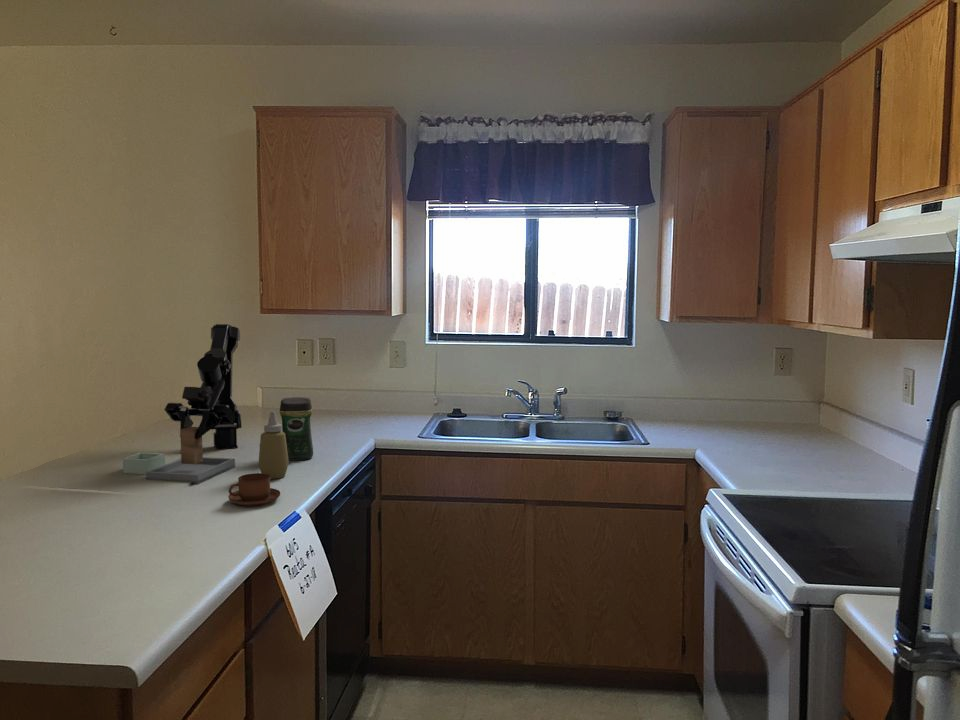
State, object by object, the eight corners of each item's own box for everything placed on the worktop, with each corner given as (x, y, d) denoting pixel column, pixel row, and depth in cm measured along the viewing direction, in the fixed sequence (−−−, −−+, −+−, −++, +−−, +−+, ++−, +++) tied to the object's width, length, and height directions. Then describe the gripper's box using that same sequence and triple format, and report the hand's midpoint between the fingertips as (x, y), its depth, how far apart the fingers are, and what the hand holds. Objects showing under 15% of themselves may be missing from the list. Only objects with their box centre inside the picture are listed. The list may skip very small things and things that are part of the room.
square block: (189, 460, 201) (188, 426, 200) (202, 460, 201) (201, 427, 200) (181, 463, 197) (180, 429, 197) (194, 464, 197) (193, 429, 196)
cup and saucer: (252, 512, 166) (251, 486, 165) (217, 504, 172) (217, 478, 172) (291, 500, 176) (290, 475, 175) (257, 492, 182) (256, 468, 182)
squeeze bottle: (295, 474, 199) (294, 410, 198) (277, 481, 192) (276, 415, 190) (270, 472, 202) (268, 408, 200) (252, 479, 194) (250, 413, 193)
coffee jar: (313, 454, 224) (313, 395, 222) (312, 460, 216) (311, 399, 214) (281, 455, 222) (280, 395, 220) (279, 461, 214) (278, 399, 213)
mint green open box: (140, 468, 205) (140, 452, 205) (165, 469, 204) (164, 453, 203) (123, 474, 198) (122, 458, 197) (148, 476, 196) (147, 459, 196)
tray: (187, 464, 210) (187, 456, 210) (235, 466, 207) (234, 458, 207) (146, 481, 191) (146, 472, 191) (198, 484, 189) (197, 475, 188)
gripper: (167, 374, 202) (143, 420, 192) (228, 376, 199) (208, 423, 189) (184, 397, 211) (162, 442, 201) (243, 400, 207) (224, 446, 198)
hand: (188, 438), depth 197 cm, fingers closed on square block, 4 cm apart
